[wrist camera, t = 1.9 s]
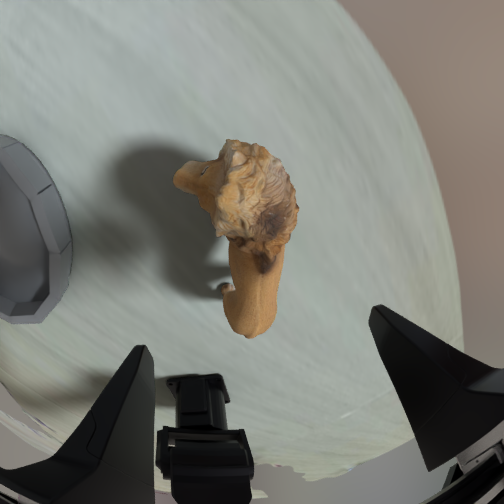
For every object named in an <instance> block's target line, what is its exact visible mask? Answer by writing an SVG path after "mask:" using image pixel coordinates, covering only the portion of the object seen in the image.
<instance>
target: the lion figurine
mask: <svg viewBox="0 0 504 504" xmlns="http://www.w3.org/2000/svg"><path fill="white" fill-rule="evenodd" d="M173 183H174V185H175V187H176V188H179V189H181V190H182V191H184V192H186V193H190V194H194V195H196V196H197V197H198V199H199V204H200V206H201V207H202V208H203V209H204V210H206V211H207V212H209V213H210V216H211V219H212V222H211V223H212V224H213V225H214V227H215V229H216V237H221V236H222V235H225V236H226V237H227V239H228V240H229V241H230V242H229V249H228V250H229V265H230V270H231V275H232V279H233V283H234V286H235V287H234V286H233V285H232V284H229V283H227V284H225V285H223V286H222V288H221V292H222V295H223V307H224V312H225V315H226V317H227V319H228V322H229V324H230V326H231V328H232V329H233V331H234V332H236V333H238V334H242V335H244V336H245V337H246V338H248V339H250V338H254V337H256V336H257V335H259V334H262V333H264V332H265V331H266V330H267V329H268V328H270V326H271V325H272V323H273V321H274V320H275V317H276V313H277V301H276V300H277V291H278V286H279V281H280V276H281V271H282V267H283V261H284V249H285V244H286V243H287V242H288V241H289V240H290V236H291V232H292V231H293V230H294V228H295V226H296V223H297V213H298V211H299V206H298V205H297V204H296V198H295V193H296V190H295V188H294V186H293V185H292V184H291V182H290V176H289V174H287V173H286V172H285V169H284V167H283V165H282V163H281V160H280V159H278V158H275V157H274V156H273V155H271V154H270V153H269V152H268V151H267V150H266V149H265V147H262V146H259V145H258V144H257V143H255V144H252V145H250V144H248V143H246V142H240V141H239V140H230V139H226V143H225V144H224V146H223V148H222V150H221V151H220V152H219V158H218V159H216V160H212V161H207V162H198V161H192V160H191V161H188V162H187V163H185V164H184V165H183V166H182V168H181V169H179V170H177V171H176V173H175V175H174V177H173Z"/></svg>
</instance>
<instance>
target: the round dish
mask: <svg viewBox="0 0 504 504" xmlns="http://www.w3.org/2000/svg"><path fill="white" fill-rule="evenodd" d="M71 266H72V237H71V231H70V226H69V221H68V218H67V214H66V210H65V207H64V205H63V202H62V199H61V196H60V194H59V192H58V190H57V188H56V186H55V183H54V182H53V180H52V178H51V176H50V175H49V173H48V171H47V170H46V168H45V167H44V166H43V164H42V163H41V161H40V160H39V159H38V158H37V157H36V156H35V154H34V153H33V152H32V151H31V150H30V149H29V148H27V147H26V146H25V145H24V144H23V143H21V142H19V141H18V140H16V139H14V138H12V137H9V136H6V135H1V134H0V318H1V319H3V320H5V321H7V322H9V323H11V324H35V323H42V321H43V320H44V319H45V318H46V317H47V315H48V314H49V313H50V312H51V311H52V310H53V308H54V307H55V306H56V305H57V304H58V303H59V301H60V300H61V298H62V296H63V294H64V293H65V291H66V289H67V287H68V285H69V275H70V272H71Z"/></svg>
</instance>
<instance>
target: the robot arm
mask: <svg viewBox="0 0 504 504" xmlns="http://www.w3.org/2000/svg"><path fill="white" fill-rule="evenodd" d="M369 327H370V330H371V332H372V335H373V338H374V341H375V344H376V346H377V349H378V352H379V355H380V357H381V359H382V361H383V364H384V366H385V368H386V370H387V372H388V374H389V376H390V379H391V381H392V383H393V385H394V387H395V390H396V392H397V394H398V397H399V399H400V401H401V403H402V406H403V408H404V410H405V413H406V415H407V418H408V420H409V422H410V425H411V427H412V430H413V432H414V435H415V438H416V440H417V443H418V446H419V448H420V451H421V454H422V456H423V459H424V462H425V465H426V467H427V470H428V472H430V471H432V470H434V469H435V468H437V467H439V466H440V465H442V464H444V463H446V462H447V461H449V460H450V459H452V458H453V457H456V459H457V463H456V464H455V465H453V466H452V467H450V470H449V472H448V475H447V478H446V481H445V483H444V486H443V488H442V490H441V491H440V492H438V493H437V494H435V495H434V496H432V497H430V498H429V499H427V500H425V501H423V502H422V503H420V504H504V368H503V369H499V368H493V367H490V366H488V365H486V364H484V363H482V362H480V361H478V360H476V359H474V358H472V357H470V356H468V355H466V354H464V353H463V352H461V351H459V350H457V349H456V348H454V347H452V346H451V345H449V344H447V343H446V342H444V341H442V340H441V339H439V338H437V337H436V336H434V335H432V334H431V333H429V332H428V331H426V330H424V329H423V328H421V327H419V326H418V325H416V324H414V323H413V322H411V321H409V320H408V319H406V318H404V317H403V316H401V315H399V314H397V313H396V312H394V311H392V310H391V309H389V308H387V307H386V306H384V305H381V304H380V305H376V306H373V307H372V310H371V313H370V317H369ZM166 384H167V386H168V388H169V389H170V391H171V392H172V394H173V396H174V397H175V399H176V428H174V427H168V426H163V430H159V431H157V447H156V461H155V464H156V466H157V467H158V468H159V469H160V470H161V473H163V479H165V480H171V493H172V496H173V498H174V499H175V501H176V502H177V503H178V504H249V503H250V501H251V498H252V493H251V488H250V480H252V479H253V476H254V462H253V457H252V454H251V450H250V447H249V444H248V441H247V437H246V434H245V431H244V429H239V430H228V428H227V419H226V410H225V404H226V403H229V402H230V398H229V395H228V392H227V389H226V386H225V382H224V379H223V376H222V375H211V376H202V377H192V378H180V379H168V380H167V382H166ZM154 416H155V380H154V361H153V357H152V356H151V354H150V352H149V350H148V348H147V346H146V345H136V346H135V347H134V348H133V349H132V351H131V352H130V353H129V355H128V356H127V358H126V359H125V360H124V362H123V363H122V364H121V366H120V367H119V369H118V370H117V371H116V373H115V374H114V376H113V377H112V378H111V380H110V381H109V383H108V384H107V386H106V387H105V388H104V390H103V391H102V393H101V394H100V396H99V397H98V398H97V400H96V401H95V403H94V404H93V406H92V407H91V410H89V411H88V413H87V414H86V416H85V417H84V419H83V420H82V422H81V423H80V424H79V426H78V427H77V428H76V429H75V431H74V432H73V433H72V434H71V436H70V437H69V438H68V439H67V440H66V442H65V443H64V444H63V445H62V446H61V448H60V449H59V450H58V451H57V452H56V453H55V454H54V455H53V456H51V457H50V458H48V459H46V460H43V461H40V462H37V463H34V464H31V465H27V466H24V467H20V468H17V469H12V470H6V469H3V468H1V467H0V484H2V485H4V486H5V487H7V488H9V489H11V490H13V491H14V492H16V493H18V499H15V498H13V497H11V496H9V495H7V494H5V493H3V492H1V491H0V504H155V491H154ZM169 445H175V447H173V446H169Z"/></svg>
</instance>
